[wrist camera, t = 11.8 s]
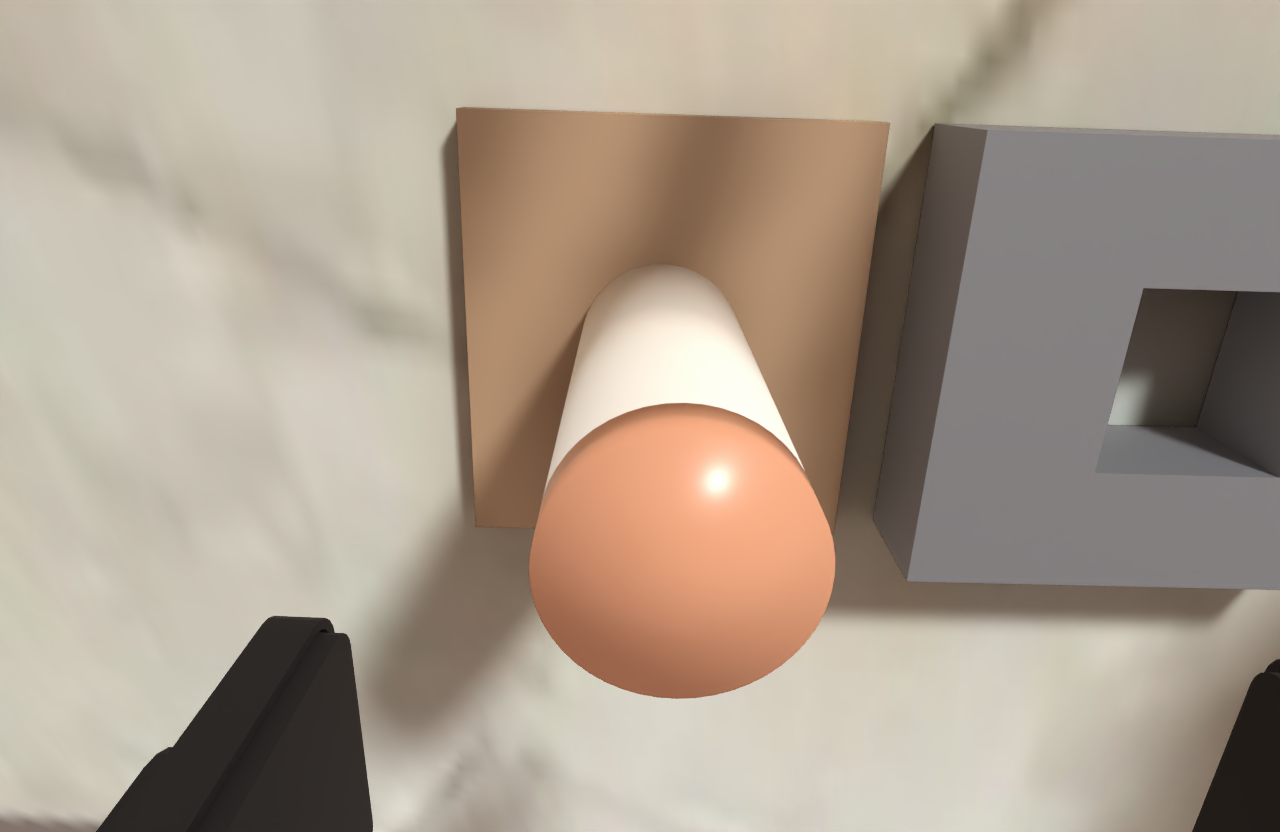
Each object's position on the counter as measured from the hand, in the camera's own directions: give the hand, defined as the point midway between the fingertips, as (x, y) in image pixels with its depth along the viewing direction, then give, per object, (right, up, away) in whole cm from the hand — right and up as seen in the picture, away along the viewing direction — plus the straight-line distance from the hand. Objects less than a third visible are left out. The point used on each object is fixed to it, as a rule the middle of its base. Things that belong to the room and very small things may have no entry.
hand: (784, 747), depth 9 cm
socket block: (+13, +6, +16) cm, 21 cm away
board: (-1, +6, +15) cm, 16 cm away
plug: (-1, +6, +14) cm, 15 cm away
